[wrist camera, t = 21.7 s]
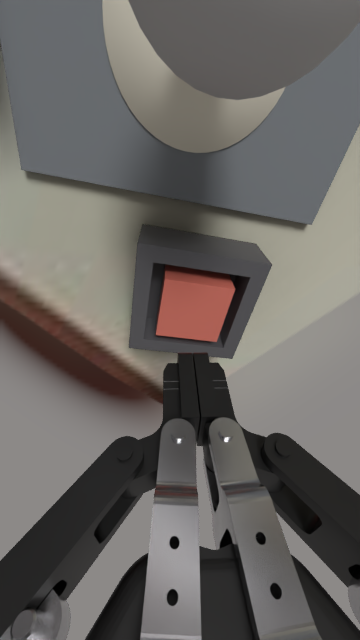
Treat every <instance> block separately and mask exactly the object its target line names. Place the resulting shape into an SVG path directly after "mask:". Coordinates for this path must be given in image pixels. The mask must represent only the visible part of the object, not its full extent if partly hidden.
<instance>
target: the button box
mask: <svg viewBox="0 0 360 640" xmlns="http://www.w3.org/2000/svg"><path fill="white" fill-rule="evenodd" d="M165 264H167V265H174V266H180V267H187V268H193V269H200V270H206V271H213V272H219V273H226V274H229V275H230V278H231V280H232V283H233V285H234V287H235V292H234V294H233V297H232V300H231V303H230V306H229V309H228V311H227V314H226V317H225V320H224V323H223V325H222V328H221V331H220V334H219V337H218V340H217V342H212V341H204V340H195V339H186V338H178V337H169V336H161V335H156V325H157V313H158V306H159V300H160V293H161V287H162V281H163V274H164V268H165ZM271 266H272V264H271V263H270V261H269V260H268V259H267V257H266V256H265V255H264V254H263V252H262V251H261V250H260V248H259V247H258V246H257V244H254V243H248V242H243V241H237V240H231V239H225V238H219V237H214V236H208V235H202V234H196V233H190V232H185V231H179V230H173V229H167V228H162V227H156V226H150V225H144V224H143V225H142V229H141V232H140V236H139V239H138V243H137V255H136V267H135V279H134V291H133V303H132V315H131V327H130V339H129V348H136V349H145V350H155V351H164V352H173V353H192V354H193V353H203V352H207V353H208V356H211V357H220V358H229V359H232V358H233V356H234V353H235V351H236V349H237V346H238V344H239V342H240V339H241V337H242V334H243V332H244V330H245V327H246V325H247V323H248V320H249V318H250V316H251V313H252V311H253V309H254V306H255V304H256V302H257V299H258V297H259V295H260V292H261V290H262V287H263V285H264V283H265V280H266V278H267V276H268V273H269V271H270V269H271Z"/></svg>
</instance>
